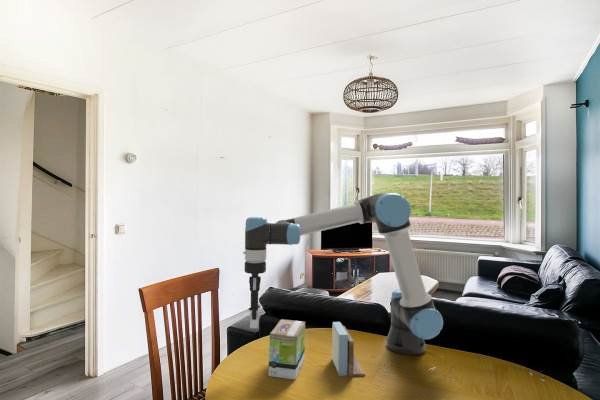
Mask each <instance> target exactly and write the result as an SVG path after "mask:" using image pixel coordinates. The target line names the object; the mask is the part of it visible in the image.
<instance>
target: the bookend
mask: <svg viewBox="0 0 600 400" xmlns="http://www.w3.org/2000/svg"><path fill="white" fill-rule="evenodd" d="M342 326H343V327H344V329H345V331H346V332H347V334H348V365H347V376H348V377H351V378H352V377H365V376H366V374H365V371H364V369H363V368H362V365H361V363H360V362H359V360H358V359H357V357H356V355H355V353H354V352H355V351H354V350H355V341H354V340H353V339H354V338H352V336H351V334H350V333H349V331H348V329H347V328H346V326H345V325H342Z"/></svg>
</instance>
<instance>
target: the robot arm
mask: <svg viewBox="0 0 600 400" xmlns="http://www.w3.org/2000/svg"><path fill="white" fill-rule="evenodd" d="M411 213H412V211H411V205H410V202H409V201H408V200H407V199H406V198H405V196H403V195H401V194H399V193H395V192H384V193H382V192H380V193H376V194H373V195H370V196H367V197H365V198H361V199H358V200H357V199H356V200H355V201H354V202H353V203H351V204H347V205H343V206H339V207H333V208H331V209H326V210H323V211H317V212H314V213H309V214H305V215H301V216H296V217H292V218H288V219H281V220H278V221H276V222H274V223H273V222H272V223H271V222H270V223H269V222H268V219H267V217H258V216H251V217H248V218H246V219H245V226H244V227H245V229H244V251H243V252H242V254H243V255H244V260H245V262H244V273H246V274H251V276H249V277H248V278H249V279H248V281H249V282H248V283H249V291H250V307H248V311H250V312H249V313H250V314H249V315H250V317H249V319H250V321H249V323H250V324H249V328H250V329H259V309H261V305H259V292H260V289H261V282H262V281H261V278H262V276H259V275H260V274H265V272H266V271H267V262H266V260H267V245H288V246H293V245H299V244H300V242H301V236H302V237H303V236H305V235H306V236H307V235H309V234H313V233H317V232H322V231H326V230H327V231H328V230H332V229H335V228H340V227H343V226H347V225H352V224H353V225H354V224H356V223H359V224H360V225H362V224H363V225H364V224H366V223H367V224H368V223H375V224H376V227H377V230H378V233H379V235H381V236H383V237H384V240H385V242H386V247H387V250H388V253H389V256H390V260H391V263H392V268H393V270H394V275H395V276H396V280H397V283H398V289H395V290H393V291H391V296H390V307H391V309H390V312H391V313H390V315H391V317H390V328H389V332H388V334H387V337H386V347H387V348H388V349H389V350H390V351H392V352H394V353H398V354H401V355H407V356H415V355H416V356H417V355H421V354H424V353H425V351H426V342H425V340H431V339H433V338H435V337H437V336H438V335H439V334H440V332H441V331H442V329H443V326H444V319H443V316H442V314H441V312H440V311H438V309H436V307H435V305H434V301H433V297H432V295H431V294H429V293H428V292H427V291H426V289H425V286H424V282H423V278H422V274H421V271H420V266H419V265H418V264H419V263H418V261H417V258H416V254H415V250H414V247H413V245H412V241H411V237H410V233H409V229H410V227H411V221H410V217H411Z"/></svg>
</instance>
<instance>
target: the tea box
mask: <svg viewBox="0 0 600 400" xmlns="http://www.w3.org/2000/svg"><path fill="white" fill-rule="evenodd" d="M305 343H306V321H302V320H301V321H300V320H292V319H280V320H279V321H278V322H277V324H276V326H275V327H274V328H273V329H272V331H271V332H270V333H269V347H268V348H269V349H268V350H269V351H268V354H269V356H268V376H269V377H274V378H279V379H288V380H296V379H297V377H298V375H299V372H300V371H301V368H302V366H303V363H304V361H305V346H306V345H305Z"/></svg>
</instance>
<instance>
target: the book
mask: <svg viewBox="0 0 600 400" xmlns="http://www.w3.org/2000/svg"><path fill="white" fill-rule="evenodd" d="M331 326H332V327H331V328H332V332H331V334H332V337H331V343H332V344H331V360H332V362H333V365H334V368H335V367H336V368H335V369H336V370H335V371H336V373H337V374H338V377H340V376H348V373H347V365H348V334H347V332H346V331H345V329H344V327H343V326H344V325H343V324H342V323H341V321H333V322H332V325H331Z"/></svg>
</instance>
